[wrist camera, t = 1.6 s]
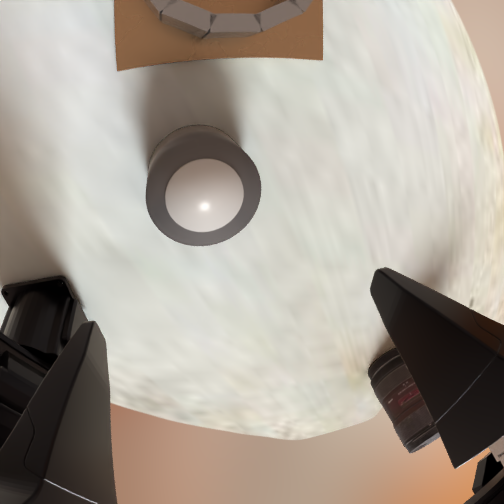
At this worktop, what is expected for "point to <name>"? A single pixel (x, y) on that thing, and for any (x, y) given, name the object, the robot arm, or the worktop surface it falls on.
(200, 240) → the gray tapered cylinder
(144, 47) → the ring mount
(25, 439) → the robot arm
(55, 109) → the worktop surface
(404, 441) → the camera lens
